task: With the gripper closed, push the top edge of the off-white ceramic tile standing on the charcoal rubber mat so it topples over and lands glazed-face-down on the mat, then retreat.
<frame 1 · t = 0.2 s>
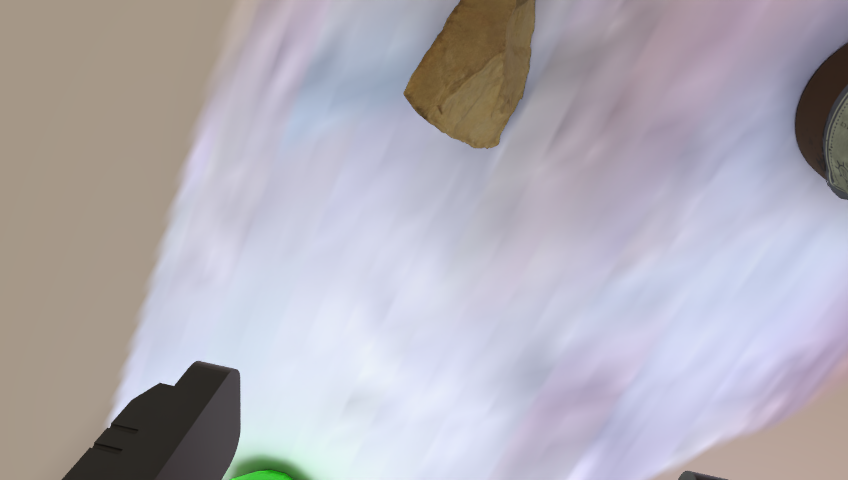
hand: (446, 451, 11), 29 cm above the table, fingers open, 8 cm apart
rock: (502, 48, 35), on the table
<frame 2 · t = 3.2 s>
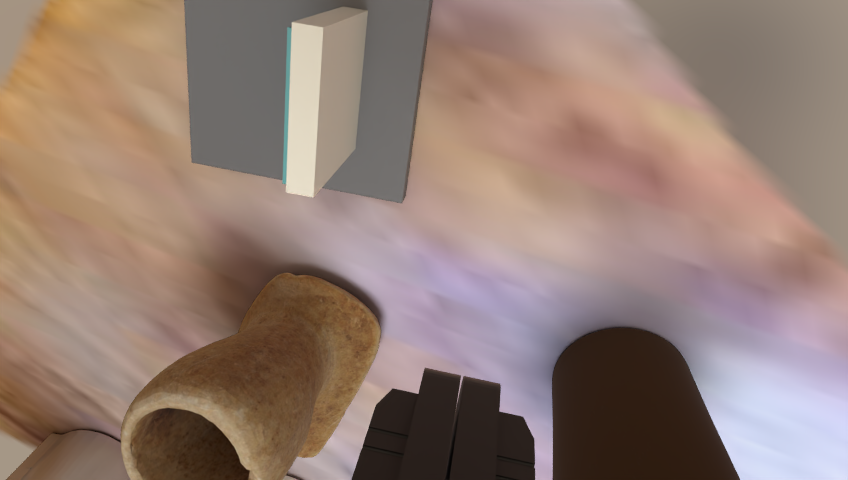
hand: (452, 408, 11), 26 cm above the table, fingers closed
mat: (306, 68, 35), on the table
tan hollow piece: (294, 342, 45), on the table
tile: (349, 81, 34), point 1 cm above the table, touching mat
olive oil: (617, 379, 42), on the table
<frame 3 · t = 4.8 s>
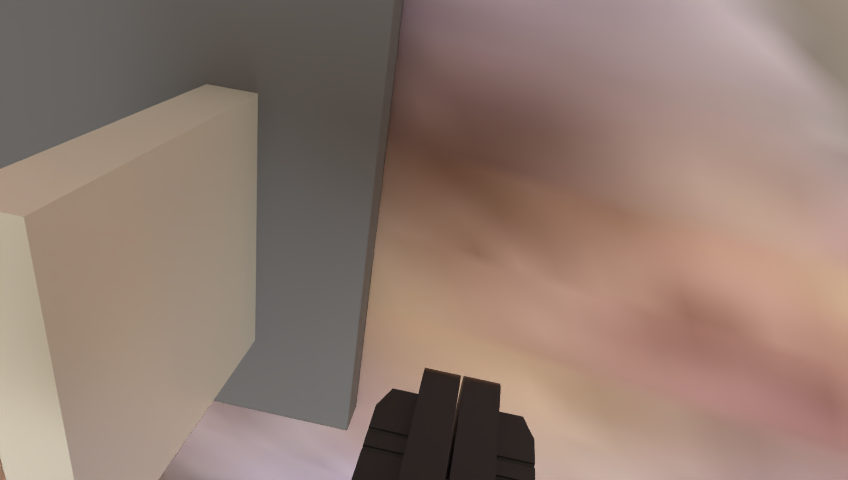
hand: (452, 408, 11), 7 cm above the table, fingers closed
mat: (158, 191, 18), on the table
tile: (233, 225, 17), point 1 cm above the table, touching mat
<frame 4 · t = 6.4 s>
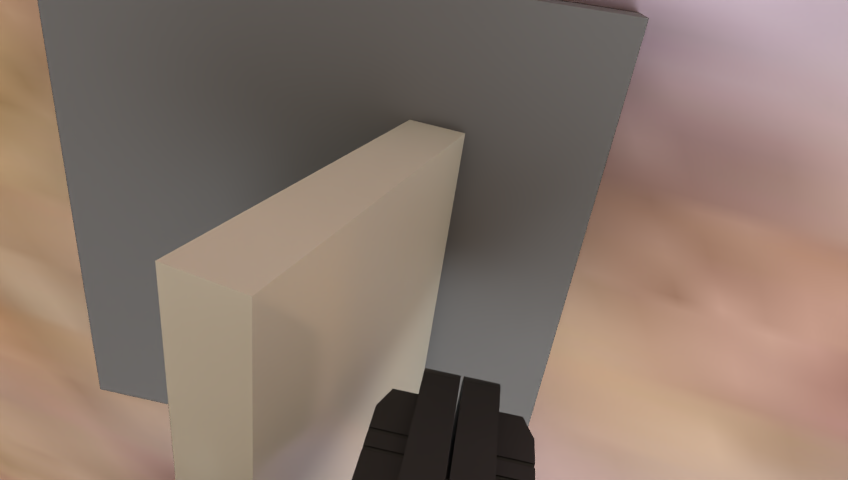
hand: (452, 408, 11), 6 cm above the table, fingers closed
mat: (322, 229, 17), on the table
tile: (415, 271, 15), point 1 cm above the table, tilted 13°, touching mat
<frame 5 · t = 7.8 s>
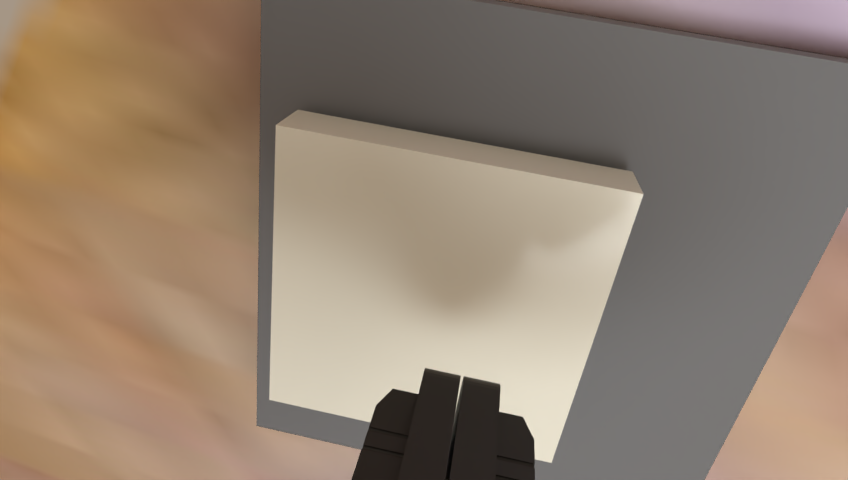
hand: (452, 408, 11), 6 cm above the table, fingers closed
mat: (509, 270, 17), on the table
tile: (588, 329, 15), point 2 cm above the table, tilted 90°, touching mat
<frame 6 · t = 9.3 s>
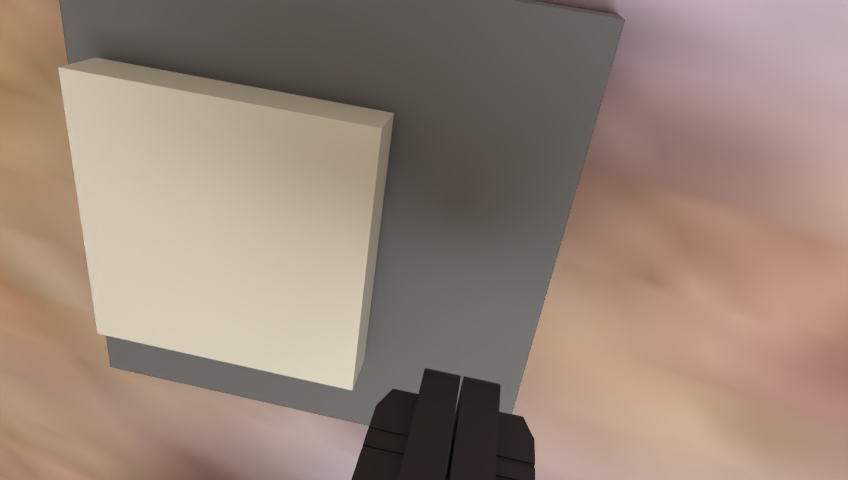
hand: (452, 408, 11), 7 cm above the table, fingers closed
mat: (323, 215, 18), on the table
tile: (371, 262, 16), point 2 cm above the table, tilted 90°, touching mat
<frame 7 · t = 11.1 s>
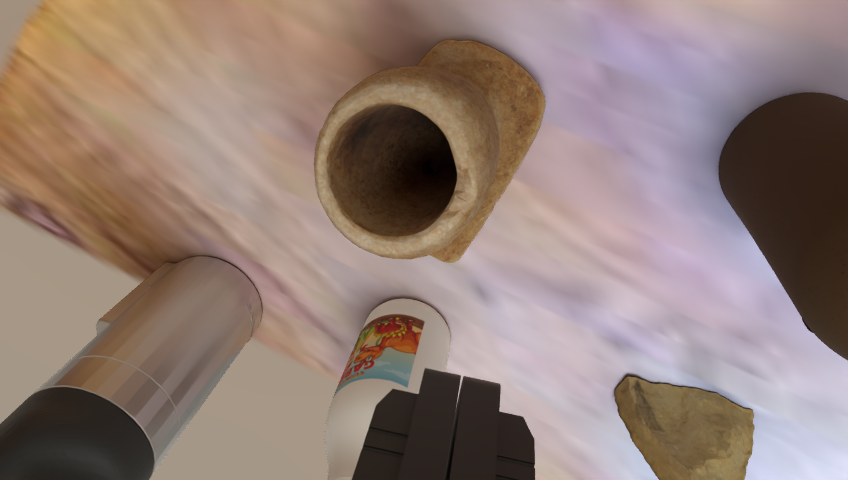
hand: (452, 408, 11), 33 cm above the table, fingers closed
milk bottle: (408, 331, 52), on the table
tan hollow piece: (440, 137, 43), on the table
rock: (678, 398, 50), on the table
olive oil: (789, 160, 40), on the table
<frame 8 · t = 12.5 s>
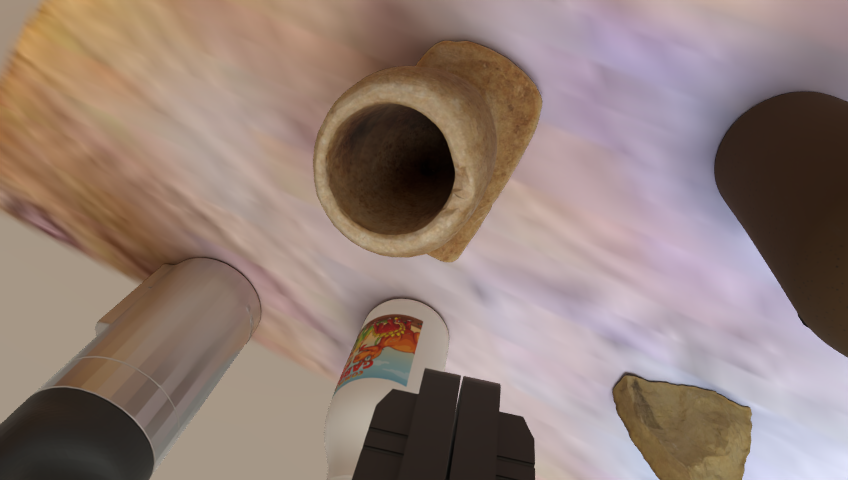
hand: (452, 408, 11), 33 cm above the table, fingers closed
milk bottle: (407, 331, 52), on the table
tan hollow piece: (438, 137, 44), on the table
rock: (676, 397, 51), on the table
olive oil: (784, 159, 40), on the table
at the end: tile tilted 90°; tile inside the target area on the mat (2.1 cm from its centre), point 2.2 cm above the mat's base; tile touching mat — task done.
